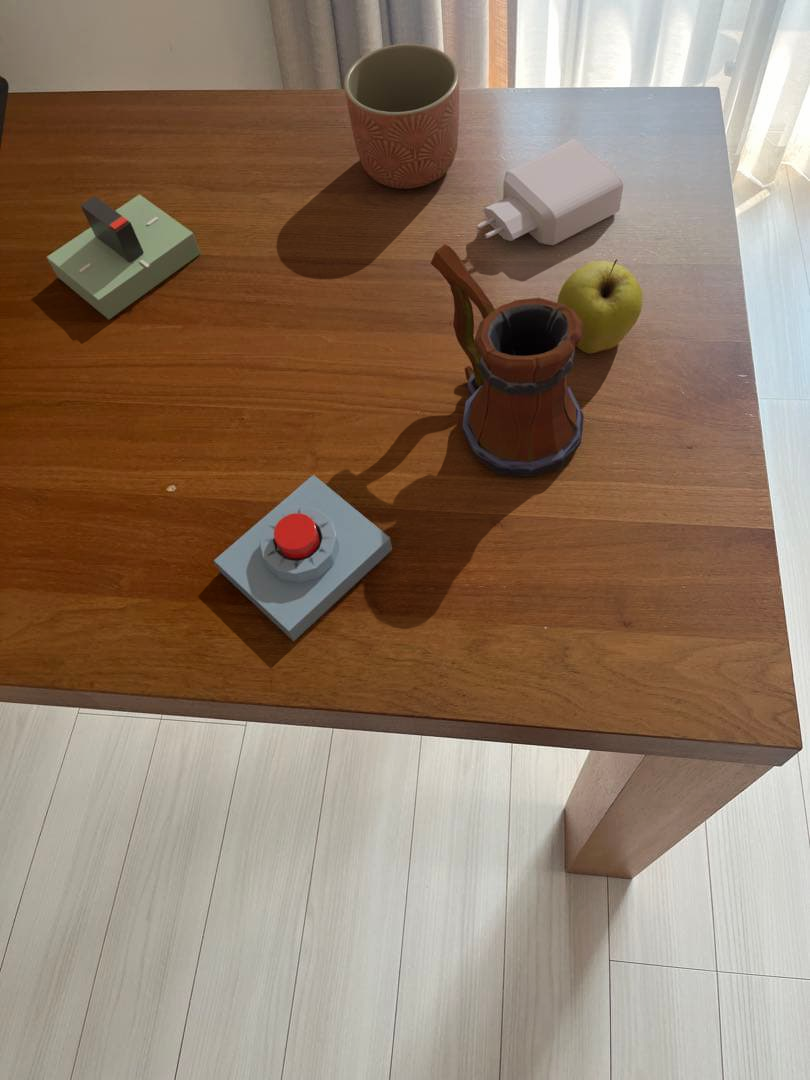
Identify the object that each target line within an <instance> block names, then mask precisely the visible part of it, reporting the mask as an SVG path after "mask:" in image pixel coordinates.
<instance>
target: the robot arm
mask: <svg viewBox="0 0 810 1080" xmlns="http://www.w3.org/2000/svg"><path fill="white" fill-rule="evenodd" d="M9 86H10V85H9V82H8V81H7V79H6V78H5V77H4V76H3V75H0V149H1V148H2V147H1V146H2V141H3V132H4V124H5V118H6V110H7V103H8V95H9V90H10V89H9V88H10V87H9Z"/></svg>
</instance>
